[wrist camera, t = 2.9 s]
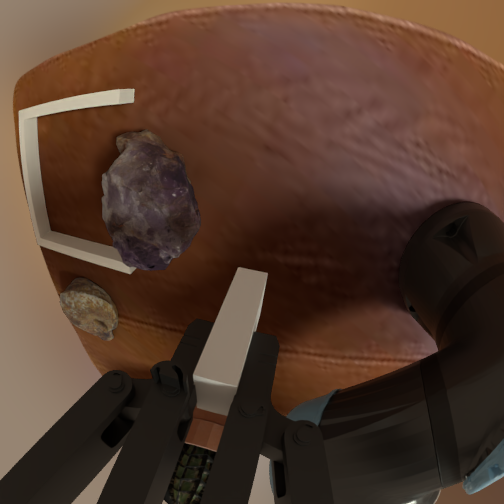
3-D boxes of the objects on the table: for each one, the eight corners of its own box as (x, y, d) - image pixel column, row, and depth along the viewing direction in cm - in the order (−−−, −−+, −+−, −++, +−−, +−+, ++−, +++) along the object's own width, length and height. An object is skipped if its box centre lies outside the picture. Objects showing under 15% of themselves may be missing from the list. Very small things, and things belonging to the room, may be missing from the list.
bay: (134, 88, 22) (119, 89, 20) (140, 263, 33) (130, 274, 31) (31, 107, 24) (18, 111, 22) (47, 237, 35) (37, 244, 33)
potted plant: (198, 407, 51) (160, 506, 29) (179, 371, 44) (125, 492, 23) (261, 417, 48) (234, 527, 26) (255, 382, 41) (216, 524, 20)
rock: (142, 223, 31) (223, 237, 30) (100, 272, 25) (192, 297, 23) (125, 125, 24) (221, 125, 22) (63, 159, 17) (173, 160, 15)
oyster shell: (69, 306, 44) (52, 325, 39) (76, 259, 36) (53, 280, 31) (113, 341, 45) (98, 363, 40) (130, 302, 38) (110, 328, 33)
